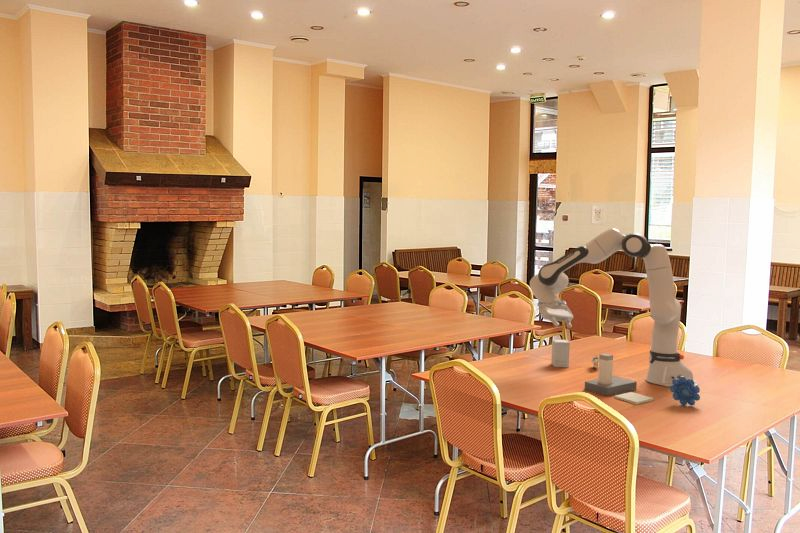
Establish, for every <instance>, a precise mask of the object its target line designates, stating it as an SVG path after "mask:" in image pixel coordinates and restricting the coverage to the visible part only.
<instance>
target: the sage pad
mask: <svg viewBox="0 0 800 533" xmlns="http://www.w3.org/2000/svg"><path fill="white" fill-rule="evenodd" d="M616 398H617V400H619V399H621V400H620V401H623V400H624V401H623V402H626V401H627V402H626V403H629V402H630V404H634V405H642V404H645V403H650V402H653V401H654V397H650V396H647V395H643V394H640V393H636V392H633V391H627V392H623V393H619V394H614V399H616Z"/></svg>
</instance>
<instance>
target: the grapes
mask: <svg viewBox="0 0 800 533" xmlns="http://www.w3.org/2000/svg"><path fill="white" fill-rule="evenodd" d="M672 384H673V385H672V386H670V387H669V391H670V392H671V393H672V398H673V399H674V400H675V401H679V403H680V404H681V405H682V406H687V405H689V406H695V405H696V402H698V401H700V400H701V395H699V393H700V390H701V388H700V387H699V385H698V386H694V384H695V383H694V381H693V380H692V379H688V380H686V378H685V377H683V376H681V377H679V380H678V379H673V380H672Z"/></svg>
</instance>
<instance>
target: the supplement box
mask: <svg viewBox="0 0 800 533" xmlns="http://www.w3.org/2000/svg"><path fill="white" fill-rule="evenodd" d="M570 344H571V343H570V342H569V340H567V339H552V340H551V362H550V364H551V365H552V366H553V367H554V368H569V367H570V366H569V365H570V346H571V345H570Z"/></svg>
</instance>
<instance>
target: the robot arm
mask: <svg viewBox="0 0 800 533" xmlns="http://www.w3.org/2000/svg"><path fill="white" fill-rule="evenodd" d="M618 251H623V252H624V254H626V255H627V256H630V257H632V258H641V259H642V260H643V262H644V268H645V273H646V279H647V283H648V284H647V285H648V296H649V310H650V311H649V312H650V316H651V318H652V320H653V322H654V323H653V328H652V332H651V341H650V344H651V345H650V350H649V355H648V360H649V367H648V371H647V375H646V378H645V381H646V382H648V383H651V384H654V385H660V386H664V387H667V388H668V387H669V388H670V386H672V385H673V384H672V380H673V379H678V380H679V377H681V376H683V377H685V378H686V380H688V379H692V380H693V381H694V383H695V384H694V386H698V387H699V382H698V381H697V380H696V379H694V373H693V371H692V369H691V368H689V367H688V366H687V365H686V364H685V363H684V362H683V361H682V360H684V359H685V355H683V354H681V353H679V352H678V336H679V329H680V322H681V316H682V314H681V313H682V305H681V303H680V301H679V300H678V299H677V298H676V297H675V296H676V295H675V294H676V293H675V280H674V279H675V278H674V275H673V269H672V264H671V260H670V256H669V252H668V250H667V248H666V247H665V245H663V244H661V243H659V244H658V243H655V244H652V243H650V242H649V241H648V240H647V238H646V237H645V236H644V235H643V234H641V233H640V232H632V233H628V234H623V233H622V232H621V230H619V229H617V228H613V227H612V228H608V229H606V230H604V231H603V232H601V233H599V234H598V235H596V236H595V237H593V239H591V240H589V241H588V242H587V243H585V244H583V245H580V246H578V247H576V248H574V249H572V250H571V251H569V252H568V253H565V254H564V255H563V256H561V257H559V258H558V259H556V260H555V261H553V262H549V263H546V264H544V265H543V266H541V267H540V269H539V270H538V273H537V274H535V275H533V276H532V278H531V279H530V280H529V288H530V290H531V292H532V294H533V296H534V297H535V298H536V299H537V301H538V302H537V308H538V311H539V313H540V315H541V317H542V319H544V320H548V321H550V322H551V323H552V324H553V325H554V327H556V328H557V327H559V326H560V322H563V323H564V322H565V323H566V327H567V328H568V329H571V328H573V325H572V323H571V321H572V320H574V315H573V313H572V311H571V310H570V308H569V307H568V305H567V302H566V301H565V300H563V299H562V298H560V297H558V296H557V294H559V293H561V292H563V291H565V290H566V289H567V288H568V286H569V283H570V280H569V276H568V275H567V274H566V273H564V272H565V271H567V270H569V269H570V268H572V267H573V266H575V265H577V264H580V263H586V264H587V263H588V264H593V265H595V264H600V263H601V262H603V261H605V260H606V259H608V258H609V257H611V256H612V255H614V254H615V253H617V252H618Z"/></svg>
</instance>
